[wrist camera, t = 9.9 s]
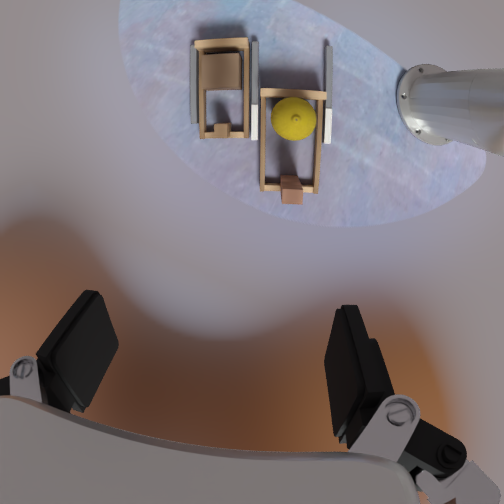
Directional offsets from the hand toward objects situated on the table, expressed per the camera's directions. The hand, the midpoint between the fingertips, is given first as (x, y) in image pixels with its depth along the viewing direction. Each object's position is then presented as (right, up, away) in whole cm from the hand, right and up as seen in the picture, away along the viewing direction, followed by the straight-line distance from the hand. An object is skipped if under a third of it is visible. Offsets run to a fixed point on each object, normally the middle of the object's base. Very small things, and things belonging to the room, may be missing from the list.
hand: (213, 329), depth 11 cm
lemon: (+7, +21, +25) cm, 34 cm away
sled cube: (-2, +25, +24) cm, 34 cm away
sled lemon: (+7, +18, +27) cm, 33 cm away
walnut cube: (-2, +27, +23) cm, 35 cm away
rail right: (-6, +26, +23) cm, 35 cm away
